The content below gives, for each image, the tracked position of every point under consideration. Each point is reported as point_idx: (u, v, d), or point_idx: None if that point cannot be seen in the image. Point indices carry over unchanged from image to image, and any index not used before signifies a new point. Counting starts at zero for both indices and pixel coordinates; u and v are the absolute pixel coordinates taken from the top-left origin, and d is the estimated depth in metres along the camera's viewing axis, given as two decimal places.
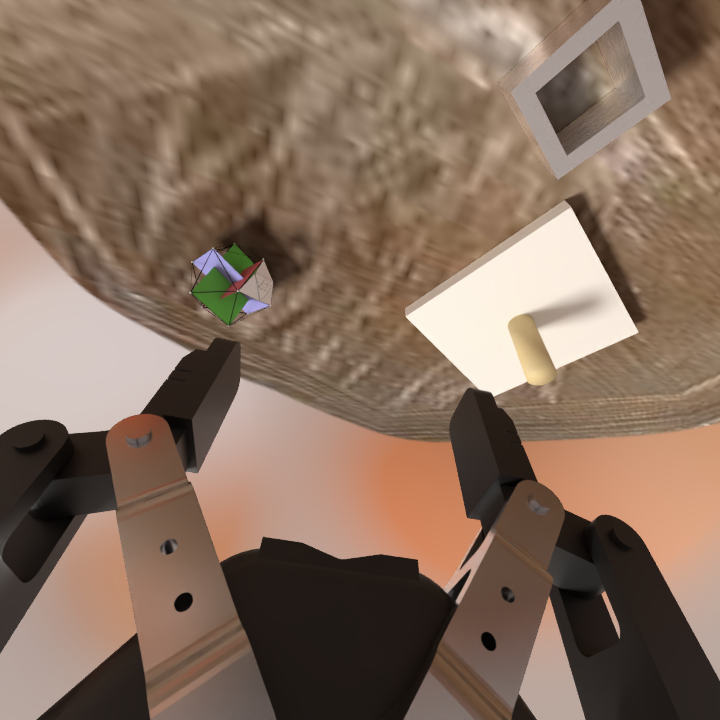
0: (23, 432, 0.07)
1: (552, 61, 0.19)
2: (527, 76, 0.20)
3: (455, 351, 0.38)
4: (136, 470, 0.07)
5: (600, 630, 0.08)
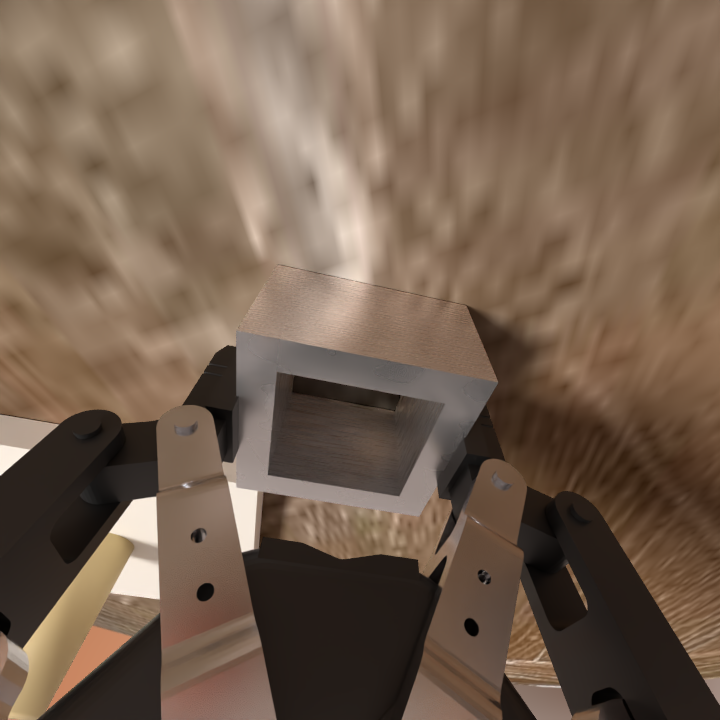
0: (83, 420, 0.08)
1: (332, 360, 0.08)
2: (280, 338, 0.08)
3: None
4: (187, 457, 0.08)
5: (567, 601, 0.09)
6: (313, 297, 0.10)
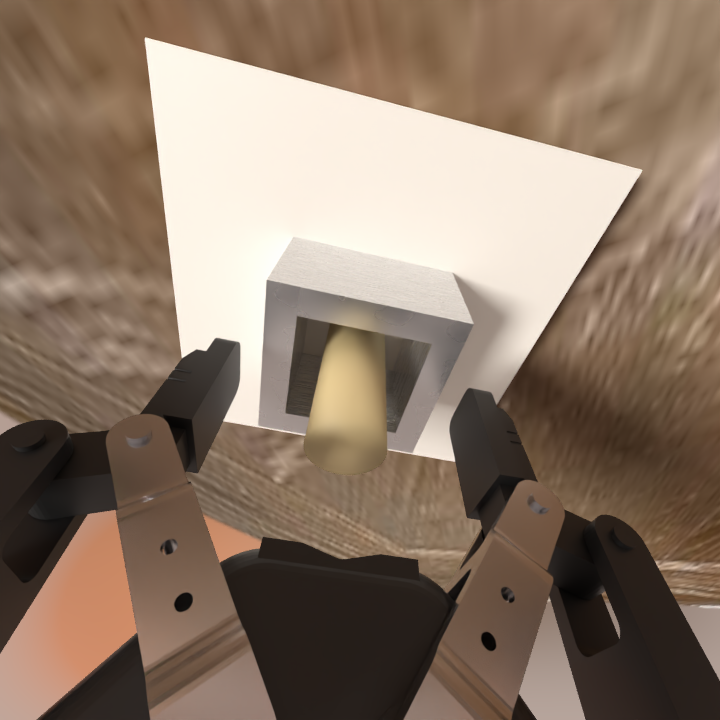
0: (23, 432, 0.07)
1: (341, 305, 0.11)
2: (301, 287, 0.10)
3: (200, 271, 0.15)
4: (136, 470, 0.07)
5: (600, 630, 0.08)
6: (325, 261, 0.12)
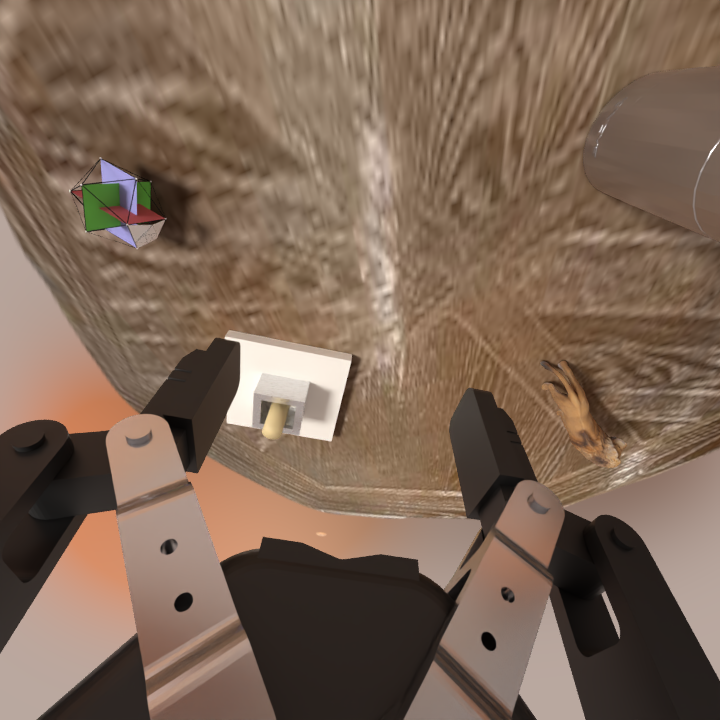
0: (22, 432, 0.07)
1: (271, 398, 0.44)
2: (261, 394, 0.44)
3: None
4: (136, 470, 0.07)
5: (600, 630, 0.08)
6: (269, 382, 0.46)
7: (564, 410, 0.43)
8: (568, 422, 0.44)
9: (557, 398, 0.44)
